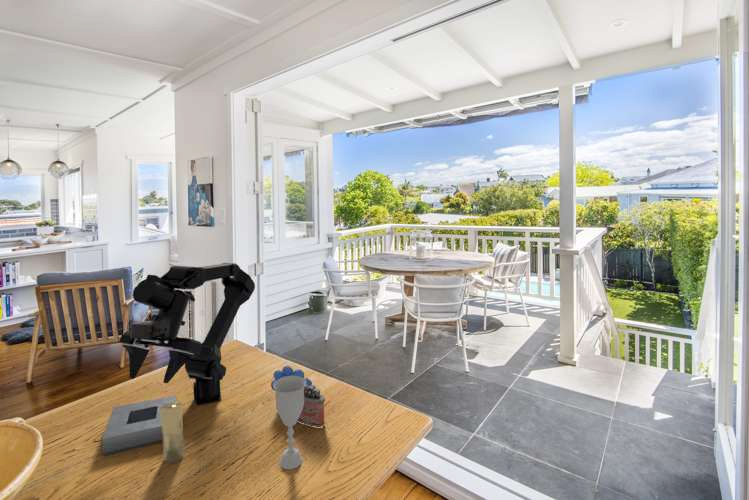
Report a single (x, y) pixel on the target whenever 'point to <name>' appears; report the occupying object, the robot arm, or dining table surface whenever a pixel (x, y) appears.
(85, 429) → the dining table surface
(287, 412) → the chalice
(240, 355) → the dining table surface
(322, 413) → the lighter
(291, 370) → the grapes
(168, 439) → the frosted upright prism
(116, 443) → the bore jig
